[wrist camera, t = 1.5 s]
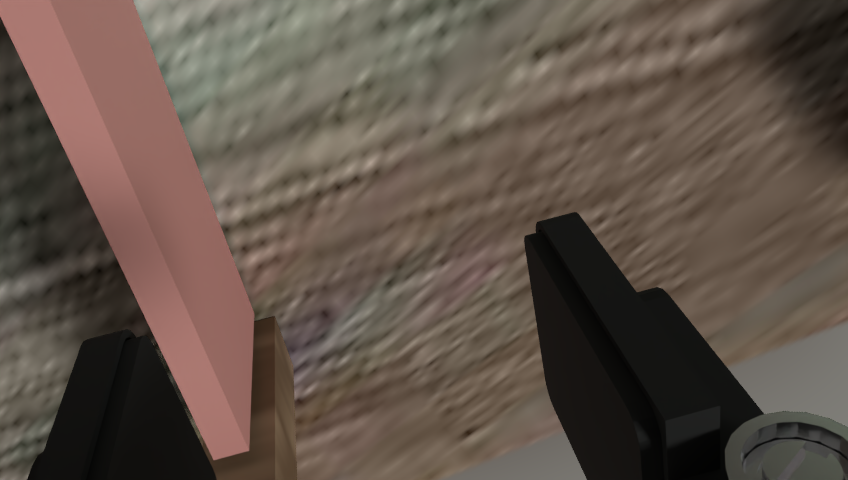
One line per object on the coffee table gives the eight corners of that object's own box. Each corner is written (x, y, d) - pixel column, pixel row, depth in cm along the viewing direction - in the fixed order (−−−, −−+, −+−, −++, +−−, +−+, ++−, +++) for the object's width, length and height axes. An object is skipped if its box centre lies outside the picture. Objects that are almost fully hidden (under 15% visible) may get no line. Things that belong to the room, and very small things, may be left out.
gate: (29, -134, 24) (-78, -105, 16) (78, -145, 24) (-7, -122, 16) (219, 319, 33) (204, 467, 25) (254, 310, 33) (249, 455, 26)
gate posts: (-48, -255, 22) (-366, -309, 11) (64, -280, 22) (-141, -357, 11) (231, 387, 35) (212, 661, 24) (301, 369, 35) (314, 632, 24)
